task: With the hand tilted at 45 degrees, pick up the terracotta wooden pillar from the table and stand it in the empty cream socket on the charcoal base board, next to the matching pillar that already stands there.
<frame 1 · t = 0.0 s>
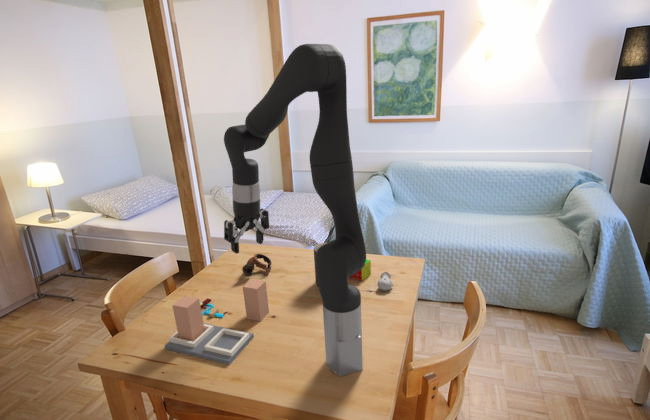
hand: (248, 247, 117), 22 cm above the table, fingers open, 8 cm apart
pottery mug: (256, 274, 150), on the table
base board: (210, 343, 111), on the table
terracotta pillar: (258, 315, 123), on the table
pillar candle: (329, 283, 140), on the table
hippo figurine: (386, 287, 136), on the table
gear mechanism: (200, 311, 128), on the table
puzzle toy: (359, 276, 144), on the table
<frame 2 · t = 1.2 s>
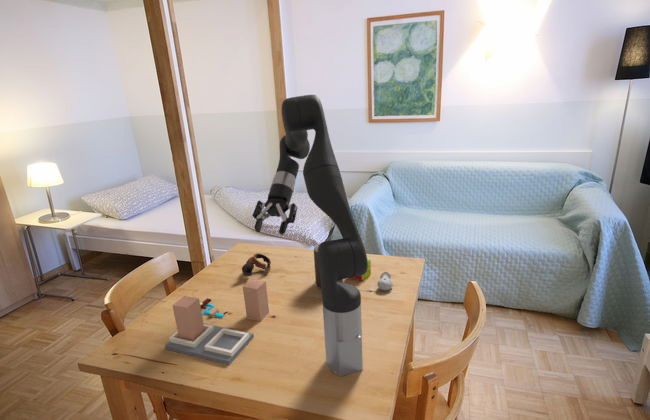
hand: (268, 232, 126), 23 cm above the table, fingers open, 8 cm apart
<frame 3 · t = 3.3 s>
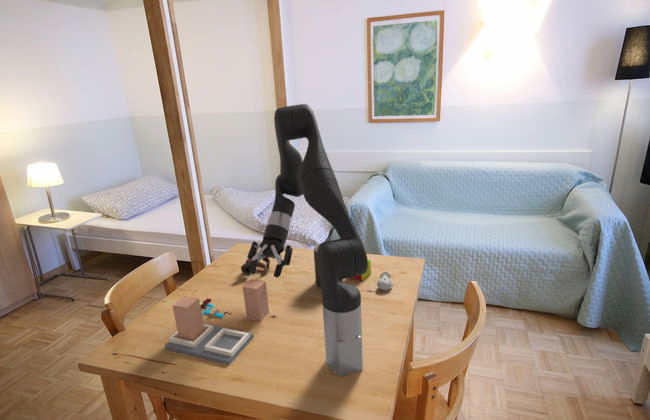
hand: (263, 275, 125), 11 cm above the table, fingers open, 8 cm apart
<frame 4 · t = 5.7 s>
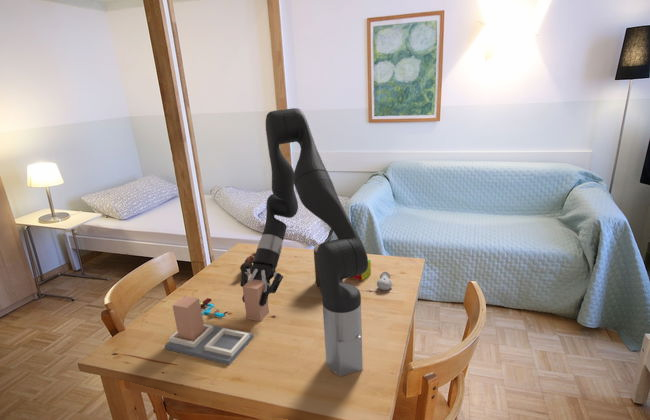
hand: (253, 303, 120), 5 cm above the table, fingers closed on terracotta pillar, 5 cm apart
terracotta pillar: (258, 315, 123), on the table, touching gripper
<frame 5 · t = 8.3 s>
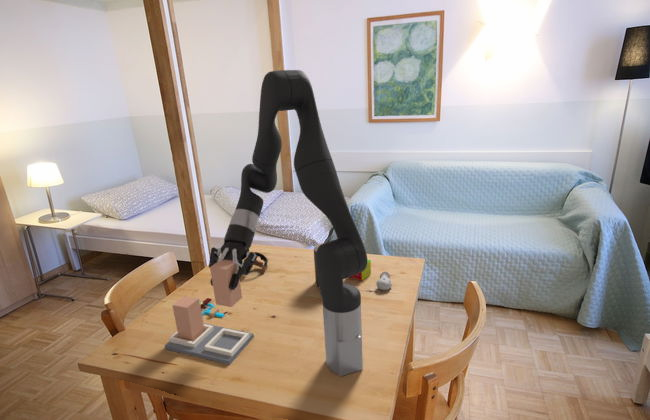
hand: (222, 287, 104), 18 cm above the table, fingers closed on terracotta pillar, 5 cm apart
terracotta pillar: (229, 300, 108), point 13 cm above the table, touching gripper
when the fingers open (8 cm above the table, at t = 11.0 s): terracotta pillar drops 2 cm, resting on base board.
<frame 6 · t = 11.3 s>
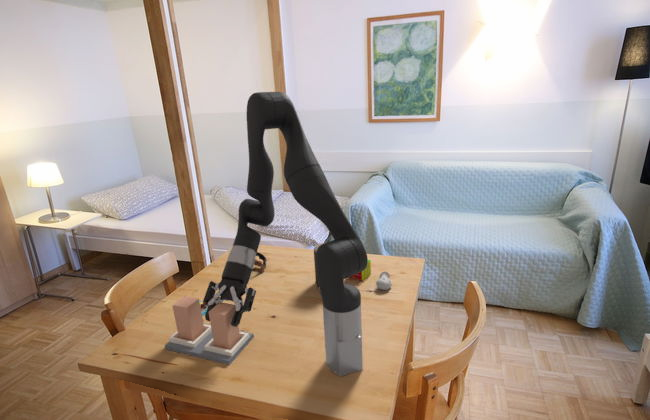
hand: (220, 323, 105), 9 cm above the table, fingers open, 7 cm apart
terracotta pillar: (227, 343, 109), point 1 cm above the table, touching base board
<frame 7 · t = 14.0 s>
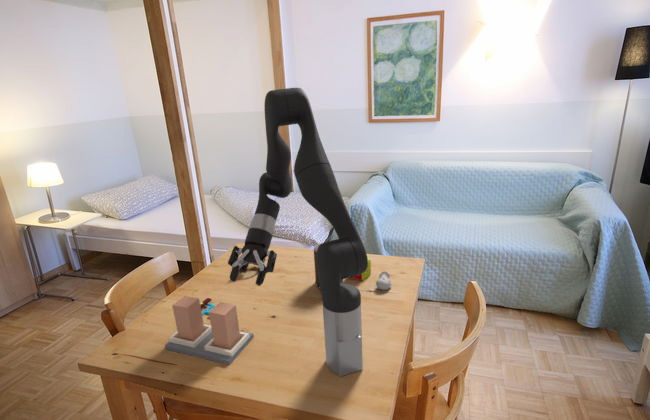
hand: (245, 282, 115), 14 cm above the table, fingers open, 8 cm apart
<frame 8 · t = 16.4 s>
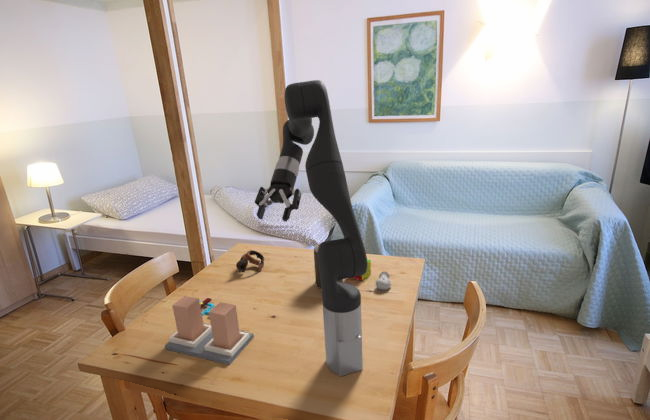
hand: (271, 219, 121), 29 cm above the table, fingers open, 8 cm apart
at the end: terracotta pillar 0.0 cm from the target spot on the base board, point 1.2 cm above the base board's base; terracotta pillar tilted 0°; the gripper is holding nothing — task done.
